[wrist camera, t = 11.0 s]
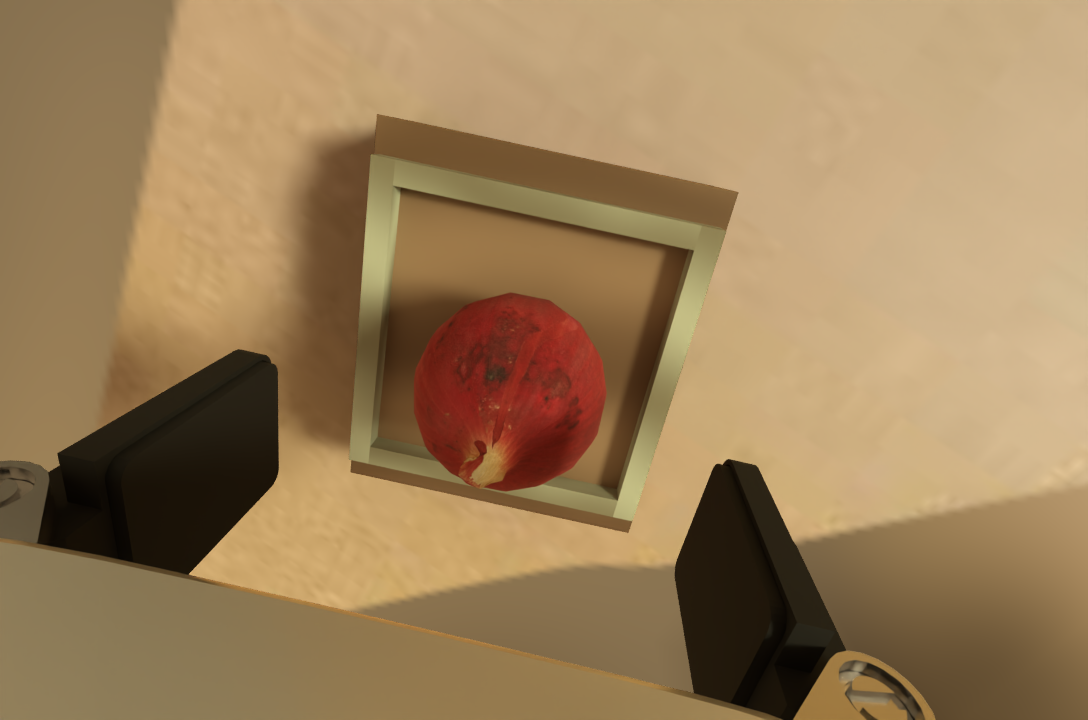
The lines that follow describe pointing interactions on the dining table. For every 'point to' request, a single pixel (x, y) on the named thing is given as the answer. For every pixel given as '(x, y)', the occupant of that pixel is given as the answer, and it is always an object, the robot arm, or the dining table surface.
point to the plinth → (533, 270)
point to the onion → (509, 392)
